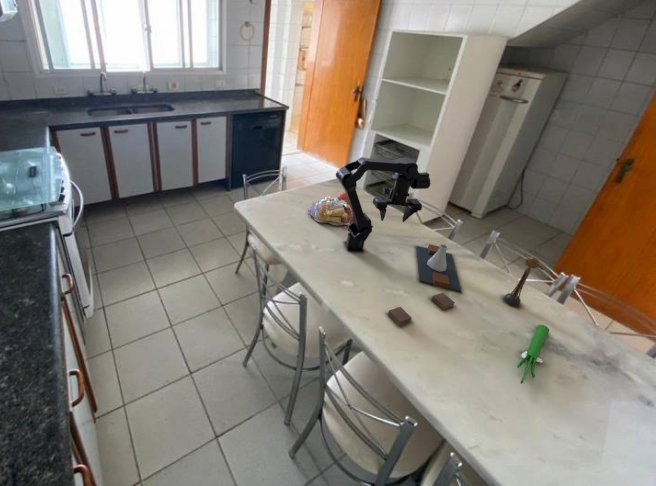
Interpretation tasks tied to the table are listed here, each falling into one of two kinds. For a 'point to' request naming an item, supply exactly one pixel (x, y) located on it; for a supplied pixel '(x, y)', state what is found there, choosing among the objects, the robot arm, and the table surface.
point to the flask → (439, 259)
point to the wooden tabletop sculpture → (522, 282)
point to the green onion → (534, 350)
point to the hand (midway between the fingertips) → (392, 221)
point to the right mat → (435, 277)
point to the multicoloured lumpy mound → (332, 210)
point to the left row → (402, 317)
